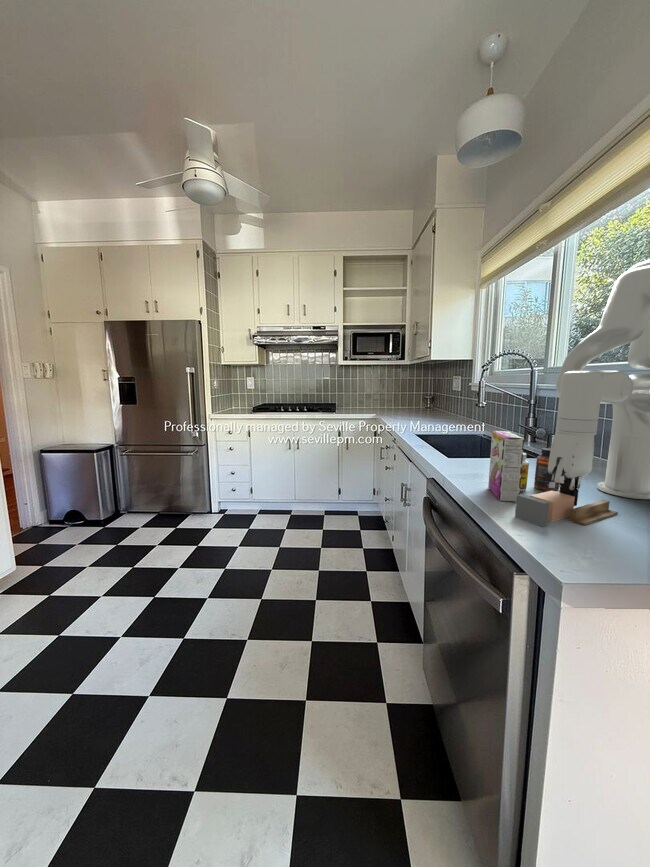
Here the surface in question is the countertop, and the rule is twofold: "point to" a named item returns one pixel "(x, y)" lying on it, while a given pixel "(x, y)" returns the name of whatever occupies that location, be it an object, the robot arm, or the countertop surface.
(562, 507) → the block
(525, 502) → the block
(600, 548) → the countertop surface
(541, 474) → the supplement bottle
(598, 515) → the chute
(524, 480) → the supplement bottle
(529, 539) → the countertop surface
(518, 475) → the candy bar box
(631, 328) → the robot arm
